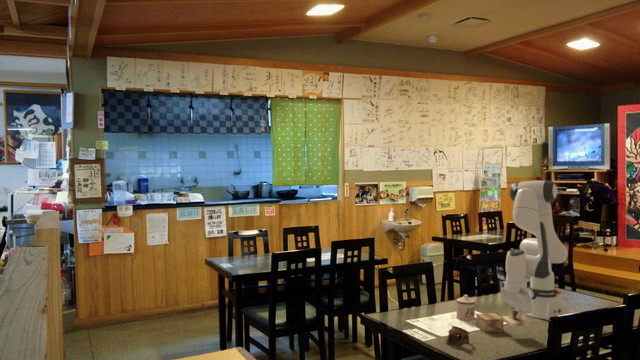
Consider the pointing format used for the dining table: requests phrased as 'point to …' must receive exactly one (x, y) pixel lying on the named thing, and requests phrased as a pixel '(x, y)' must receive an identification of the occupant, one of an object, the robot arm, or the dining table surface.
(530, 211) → the robot arm
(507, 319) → the lid
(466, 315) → the teacup with lid
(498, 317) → the box body
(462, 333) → the brown lumpy figurine
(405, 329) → the dining table surface
